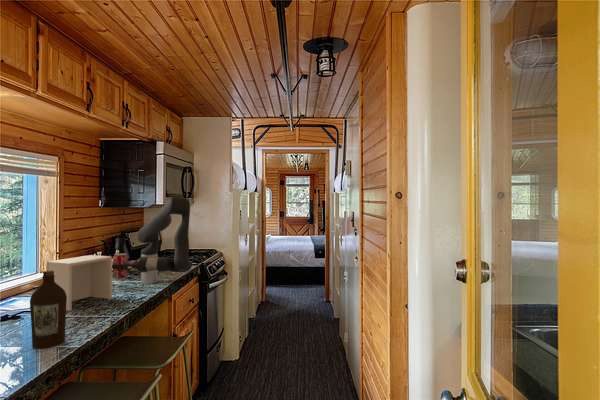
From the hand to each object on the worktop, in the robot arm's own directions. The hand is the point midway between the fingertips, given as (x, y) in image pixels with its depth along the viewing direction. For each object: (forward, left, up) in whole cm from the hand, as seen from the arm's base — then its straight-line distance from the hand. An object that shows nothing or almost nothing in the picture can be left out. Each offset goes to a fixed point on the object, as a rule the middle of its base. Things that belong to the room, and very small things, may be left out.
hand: (116, 265), depth 184 cm
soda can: (+1, +2, -7) cm, 7 cm away
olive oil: (+53, -17, -18) cm, 58 cm away
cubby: (-2, -16, -17) cm, 24 cm away
